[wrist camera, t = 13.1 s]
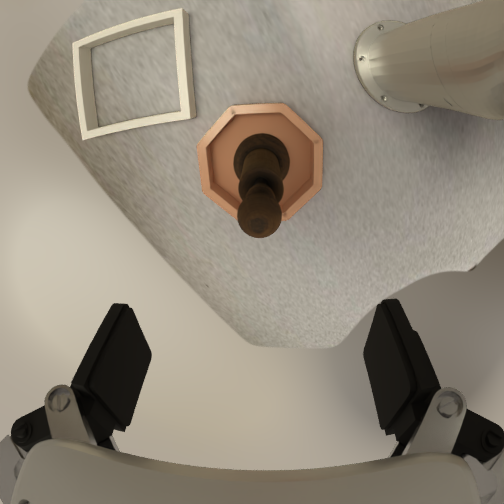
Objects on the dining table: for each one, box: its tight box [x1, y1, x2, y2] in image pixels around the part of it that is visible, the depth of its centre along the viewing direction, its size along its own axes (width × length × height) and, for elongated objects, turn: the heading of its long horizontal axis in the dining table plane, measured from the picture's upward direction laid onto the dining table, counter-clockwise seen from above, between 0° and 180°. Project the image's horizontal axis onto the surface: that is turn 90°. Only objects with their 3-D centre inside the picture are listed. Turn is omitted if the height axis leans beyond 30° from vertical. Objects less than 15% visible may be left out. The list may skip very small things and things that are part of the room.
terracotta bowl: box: [197, 103, 323, 221], centre depth 33 cm, size 14×14×4 cm
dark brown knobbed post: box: [233, 133, 290, 238], centre depth 26 cm, size 7×6×18 cm
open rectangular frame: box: [73, 8, 196, 140], centre depth 27 cm, size 15×14×3 cm
